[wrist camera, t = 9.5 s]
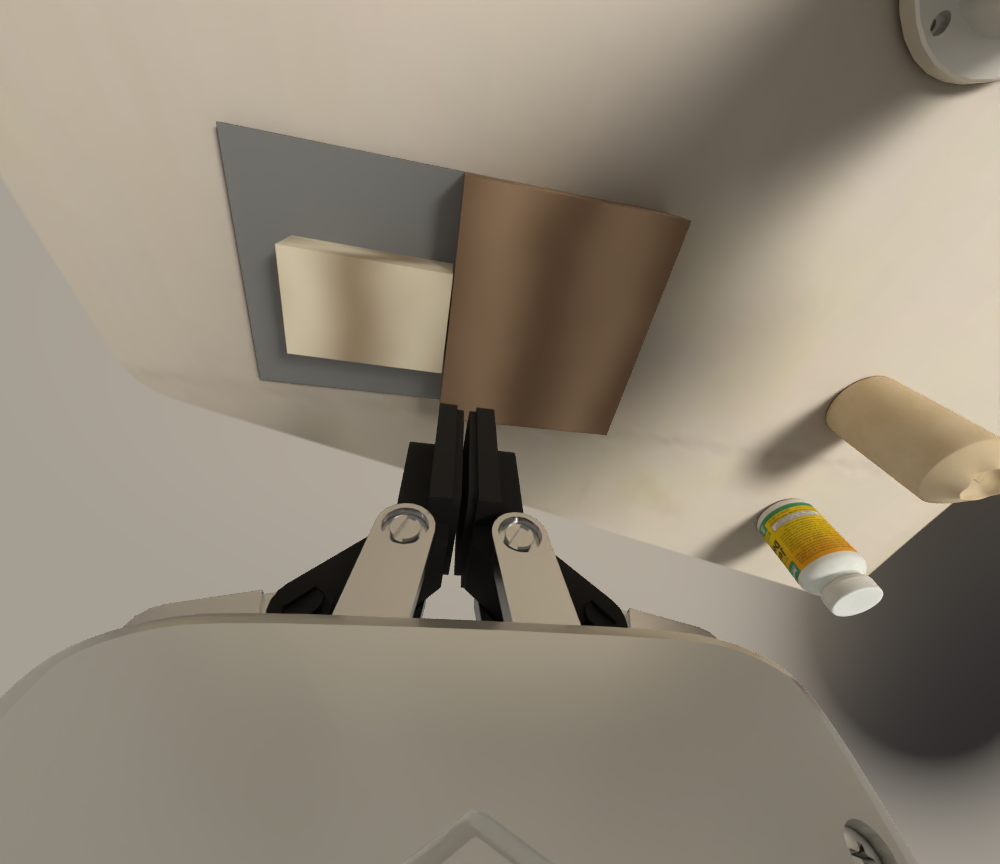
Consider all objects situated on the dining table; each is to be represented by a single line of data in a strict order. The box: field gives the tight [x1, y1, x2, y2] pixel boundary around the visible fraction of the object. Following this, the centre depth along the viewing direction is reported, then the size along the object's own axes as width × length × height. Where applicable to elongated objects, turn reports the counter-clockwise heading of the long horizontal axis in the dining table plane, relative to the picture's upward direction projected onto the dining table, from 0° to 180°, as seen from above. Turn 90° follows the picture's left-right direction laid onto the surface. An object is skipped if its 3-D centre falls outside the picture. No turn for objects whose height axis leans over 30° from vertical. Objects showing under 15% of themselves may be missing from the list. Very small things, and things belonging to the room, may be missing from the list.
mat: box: [216, 122, 465, 399], centre depth 25 cm, size 12×14×1 cm
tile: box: [275, 235, 454, 373], centre depth 24 cm, size 9×6×2 cm, turn 79°
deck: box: [439, 172, 691, 435], centre depth 26 cm, size 12×14×3 cm
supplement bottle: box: [757, 499, 883, 616], centre depth 37 cm, size 5×5×10 cm
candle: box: [826, 376, 1000, 503], centre depth 29 cm, size 6×6×10 cm
